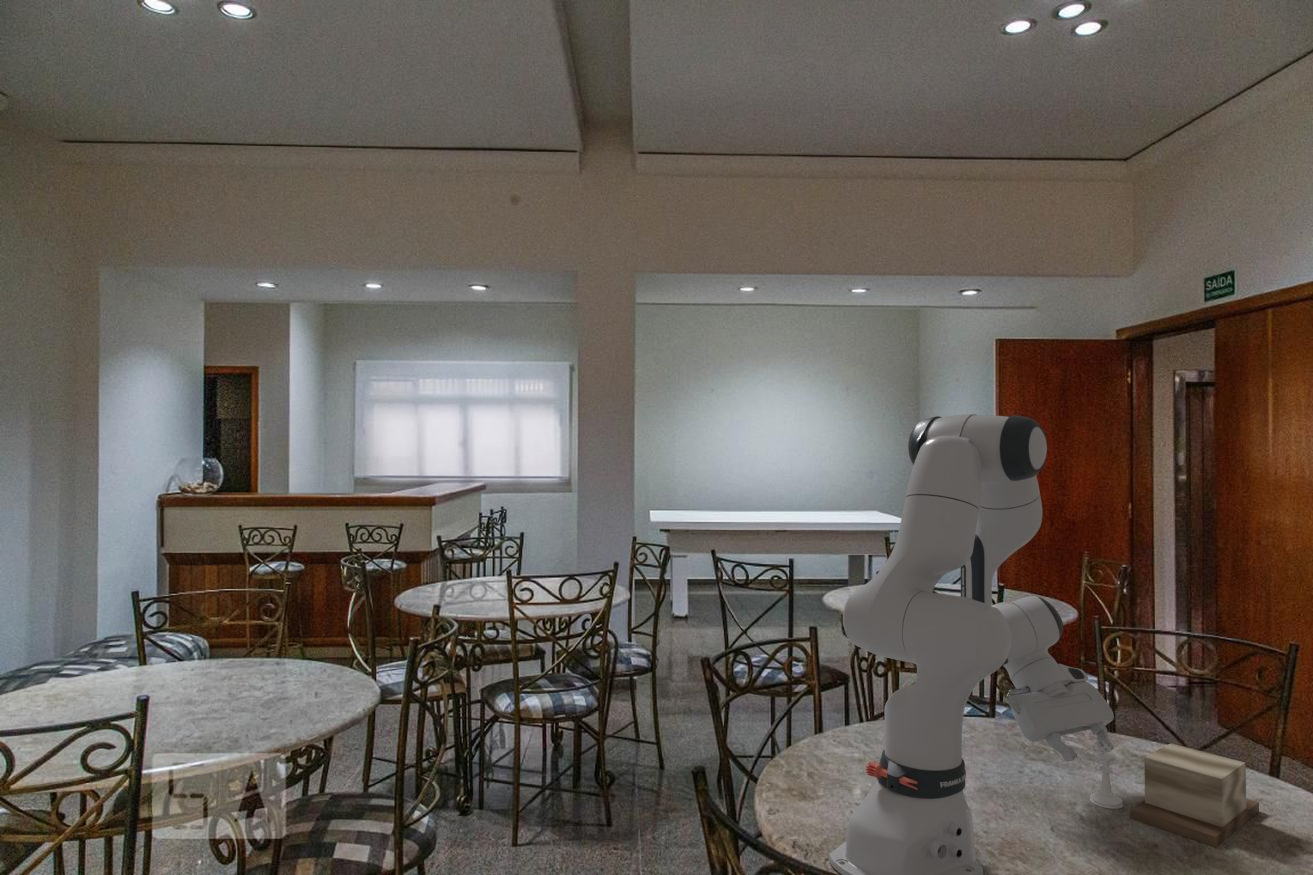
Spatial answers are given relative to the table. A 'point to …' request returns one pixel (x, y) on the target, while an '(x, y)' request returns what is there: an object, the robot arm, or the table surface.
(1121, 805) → the chess piece
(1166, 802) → the walnut base
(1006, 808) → the table surface
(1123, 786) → the table surface
